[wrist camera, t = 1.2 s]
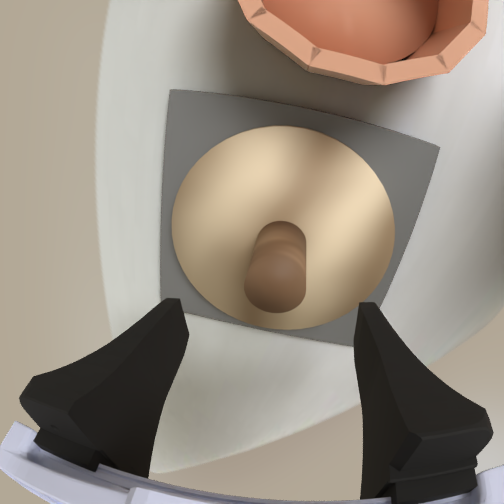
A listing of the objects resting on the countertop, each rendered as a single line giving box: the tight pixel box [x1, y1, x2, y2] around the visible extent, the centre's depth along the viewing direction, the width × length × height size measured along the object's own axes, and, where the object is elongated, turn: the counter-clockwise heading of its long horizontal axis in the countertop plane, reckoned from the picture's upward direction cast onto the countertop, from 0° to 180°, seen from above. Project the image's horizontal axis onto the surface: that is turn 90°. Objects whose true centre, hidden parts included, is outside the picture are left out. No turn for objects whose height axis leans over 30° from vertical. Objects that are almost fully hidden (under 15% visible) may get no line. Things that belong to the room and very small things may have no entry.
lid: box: [172, 125, 395, 330], centre depth 17 cm, size 13×13×5 cm
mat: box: [160, 89, 440, 347], centre depth 19 cm, size 15×15×1 cm
